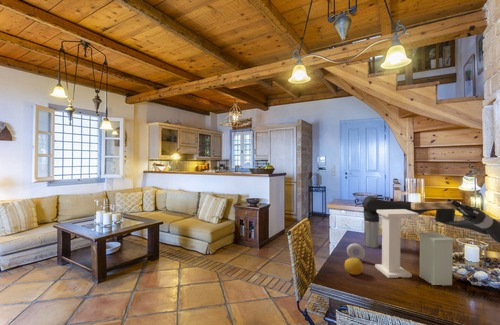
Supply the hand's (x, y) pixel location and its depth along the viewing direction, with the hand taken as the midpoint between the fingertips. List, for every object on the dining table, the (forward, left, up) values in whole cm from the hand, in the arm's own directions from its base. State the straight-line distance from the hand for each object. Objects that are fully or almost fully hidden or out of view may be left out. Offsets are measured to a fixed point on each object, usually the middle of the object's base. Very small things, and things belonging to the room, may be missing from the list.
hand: (449, 201), depth 120 cm
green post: (-6, -5, -39) cm, 40 cm away
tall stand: (-22, -2, -39) cm, 45 cm away
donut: (-42, +4, -39) cm, 58 cm away
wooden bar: (-6, -4, -3) cm, 8 cm away
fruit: (-42, -14, -39) cm, 59 cm away
